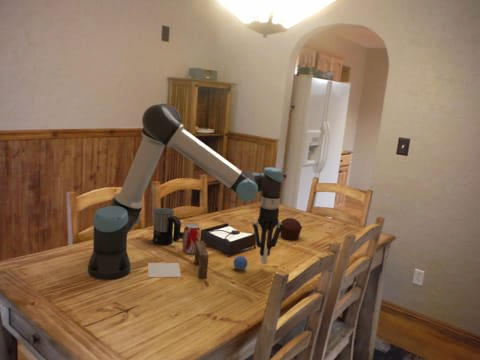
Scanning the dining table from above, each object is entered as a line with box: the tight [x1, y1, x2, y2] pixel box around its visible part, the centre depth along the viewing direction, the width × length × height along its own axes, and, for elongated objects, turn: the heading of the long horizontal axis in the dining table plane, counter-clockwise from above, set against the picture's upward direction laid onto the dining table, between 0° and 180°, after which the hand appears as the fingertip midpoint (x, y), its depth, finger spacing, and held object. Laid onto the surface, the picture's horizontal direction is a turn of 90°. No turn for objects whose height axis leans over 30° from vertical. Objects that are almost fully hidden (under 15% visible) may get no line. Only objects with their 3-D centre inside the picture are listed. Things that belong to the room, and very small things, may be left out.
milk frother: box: [151, 207, 184, 246], centre depth 182 cm, size 14×16×15 cm
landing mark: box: [147, 262, 182, 279], centre depth 153 cm, size 12×12×1 cm
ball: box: [233, 255, 248, 271], centre depth 159 cm, size 6×6×6 cm
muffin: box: [279, 217, 303, 242], centre depth 201 cm, size 12×11×10 cm
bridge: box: [194, 240, 210, 279], centre depth 155 cm, size 3×14×9 cm, turn 13°
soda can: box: [182, 223, 201, 255], centre depth 171 cm, size 7×7×12 cm
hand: (263, 262), depth 162 cm, fingers closed
